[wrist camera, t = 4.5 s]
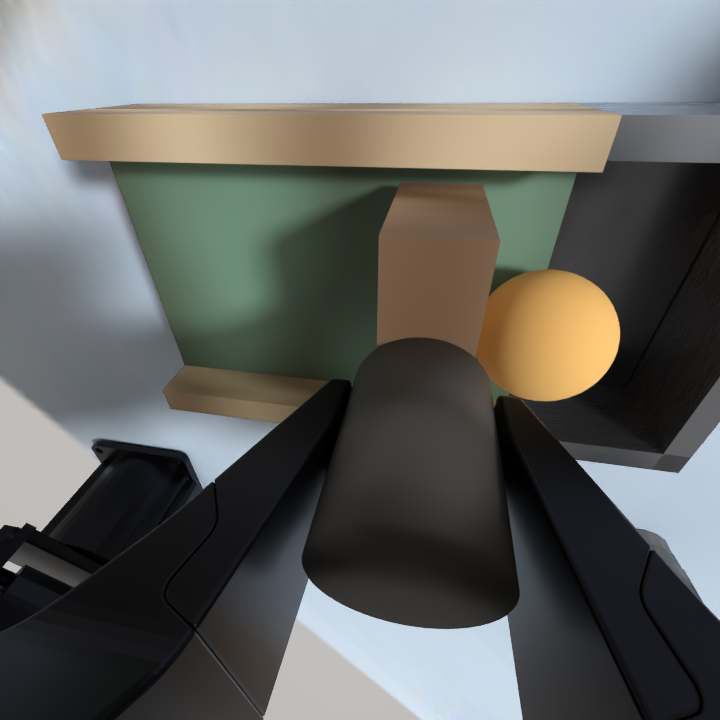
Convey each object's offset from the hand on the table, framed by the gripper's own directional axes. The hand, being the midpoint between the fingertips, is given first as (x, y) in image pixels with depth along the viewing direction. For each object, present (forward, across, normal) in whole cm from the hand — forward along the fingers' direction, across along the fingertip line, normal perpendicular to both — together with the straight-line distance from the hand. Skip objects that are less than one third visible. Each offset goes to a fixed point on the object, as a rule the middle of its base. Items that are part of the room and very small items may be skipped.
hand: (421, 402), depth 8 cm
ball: (+2, -2, 0) cm, 3 cm away
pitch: (+7, +3, 0) cm, 8 cm away
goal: (+7, -6, 0) cm, 9 cm away
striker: (+5, 0, 0) cm, 5 cm away
